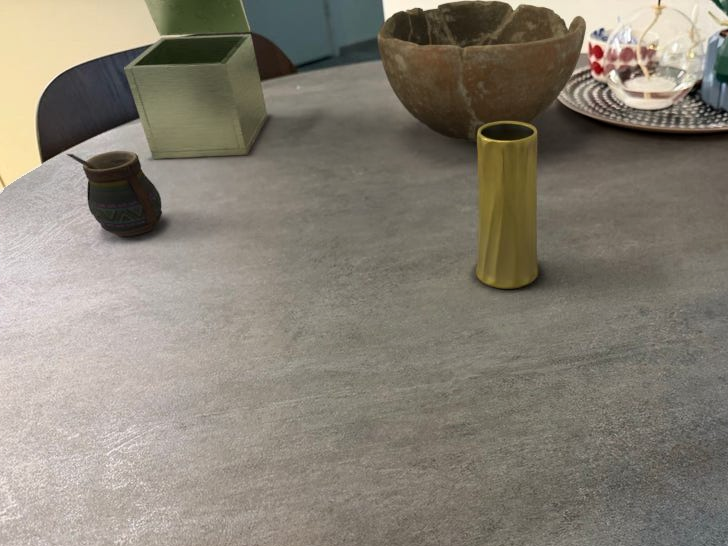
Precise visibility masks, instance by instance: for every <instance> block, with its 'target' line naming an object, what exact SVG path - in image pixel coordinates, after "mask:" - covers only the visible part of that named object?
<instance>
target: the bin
mask: <svg viewBox="0 0 728 546" xmlns="http://www.w3.org/2000/svg"><path fill="white" fill-rule="evenodd" d="M123 70H124V73H125V75H126V79H127V82H128V86H129V88H130V91H131V95H132V97H133V101H134V104H135V107H136V110H137V113H138V117H139V119H140V120H139V121H140V123H141V125H142V129H143V133H144V135H145V139H146V141H147V144H148V148H149V151H150V155H151V157H152V159H153V160H161V159H180V158H205V157H227V156H230V157H231V156H247V155H248V154H249V152H250V150H251V149H252V147H253V145H254V143H255V142H256V139H257V138H258V135H259V134H260V132H261V130H262V128H263V126H264V124H265V123H266V121H267V119H268V118H269V114H268V111H267V106H266V101H265V96H264V91H263V86H262V81H261V77H260V72H259V65H258V62H257V57H256V52H255V47H254V43H253V38H252V34H251V33H245V34H244V33H242V34H221V35H220V34H216V35H195V36H194V35H191V36H190V35H189V36H168V37H167V36H166V37H165V36H164V37H161V38H159V39H157V41H155V42H154V43H153V44H152V45H151V46H149V47H148V48H147V49H146V50H144V51H143V52H141V54H140V55H138V56H137V57H136V58H135V59H133V60H132V61H131V62H129V63H128V64H127V65H126V66H124V68H123Z"/></svg>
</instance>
